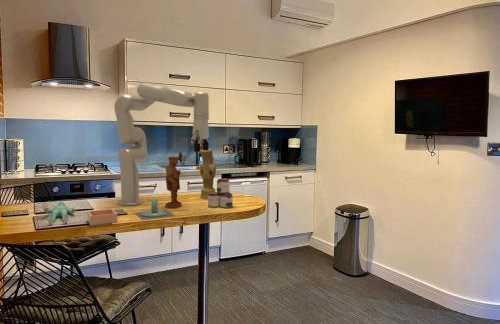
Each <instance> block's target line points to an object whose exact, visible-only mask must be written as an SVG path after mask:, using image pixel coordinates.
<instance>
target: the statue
mask: <svg viewBox="0 0 500 324" xmlns="http://www.w3.org/2000/svg"><path fill="white" fill-rule="evenodd" d="M200 155H201V159H202V163H201V164H199V167H198V168H199V173H200V176H201V179H202V185H203V188H201V189H200V192H201V193H200V196H199V199H202V200H208V194H209V193H210V192H216V189H215V188H214V178H215V177H216V173H217V168H216V165H215V164H214V160H215V159H214V155H213V150H212V149H211V148H209V150H203V149H200Z"/></svg>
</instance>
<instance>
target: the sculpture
mask: <svg viewBox="0 0 500 324" xmlns="http://www.w3.org/2000/svg"><path fill="white" fill-rule="evenodd" d="M183 157H184V155H183V153H182V152H181V151H179V152H178V156H168V157H167V159H168V162H169V164H167V166H166V168H165V172H166V175H165V183H166V184H165V185H166V191H169V192H170V195H171V196H170V199H171V200H170V201H169V202H167V203H165V207H164V208H165V209H173V210H175V209H179V208H181V207H182V206H183V205H182V202H180V201H179V200H178V191H180V190H181V185H180V184H181V182H180V176H181V175H182V173H181V168H179V169H177V165H178V164H179V163H183Z"/></svg>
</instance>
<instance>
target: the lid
mask: <svg viewBox="0 0 500 324" xmlns="http://www.w3.org/2000/svg"><path fill="white" fill-rule="evenodd" d="M150 202H151V203H150V210H149V209H148V210H145V211H141V212H142V216H143V217H151V218H153V217H162V216H165V215H167V211H168V210H167V211H165V209H158V208H159V204H158V199H151V201H150Z"/></svg>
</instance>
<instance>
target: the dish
mask: <svg viewBox="0 0 500 324" xmlns="http://www.w3.org/2000/svg"><path fill="white" fill-rule="evenodd" d="M86 213H87V222H89V223H88V225H89V226H90V227H100V226H106V225H108V226H109V225H113V224H116V223H118V212H117V211H115V210H114V209H113V208H107V209H106V208H105V209H97V210H95V209H94V210H87V212H86Z"/></svg>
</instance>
